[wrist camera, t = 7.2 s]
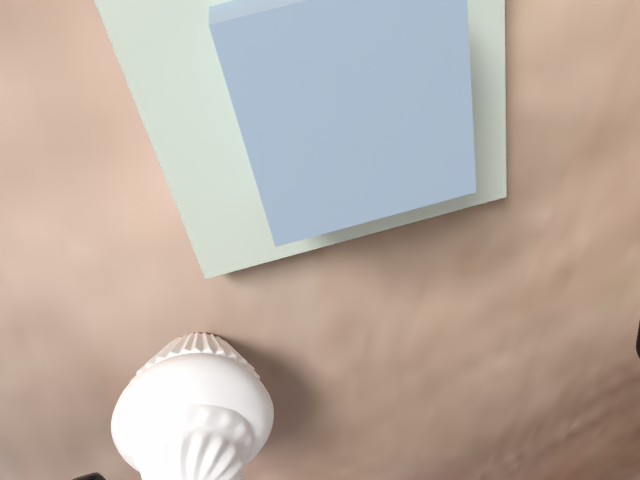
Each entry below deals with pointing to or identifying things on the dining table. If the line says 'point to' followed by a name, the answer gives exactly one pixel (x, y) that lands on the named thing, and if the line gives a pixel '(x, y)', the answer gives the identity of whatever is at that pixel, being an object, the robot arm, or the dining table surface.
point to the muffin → (193, 413)
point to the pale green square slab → (226, 139)
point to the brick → (349, 106)
